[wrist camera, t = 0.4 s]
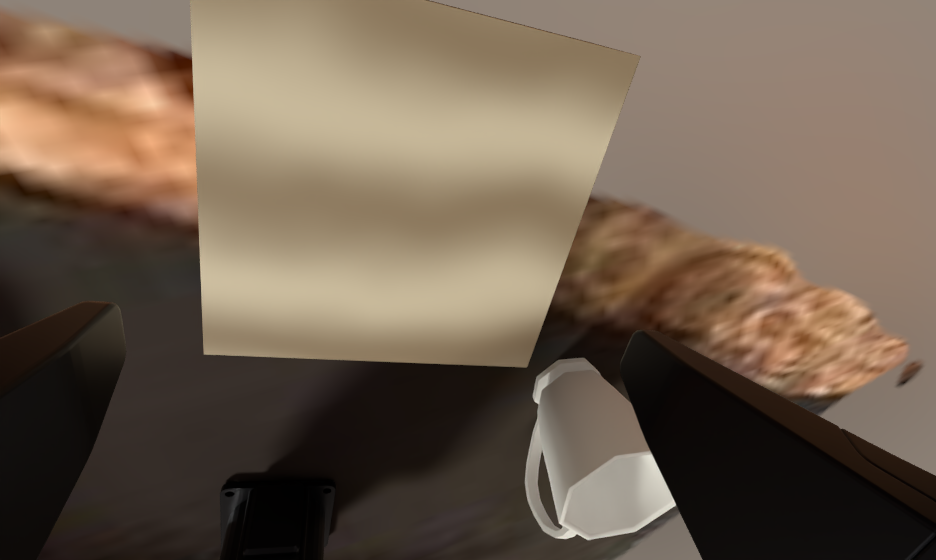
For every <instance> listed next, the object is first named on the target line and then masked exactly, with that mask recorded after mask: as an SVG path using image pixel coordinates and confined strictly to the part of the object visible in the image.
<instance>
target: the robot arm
mask: <svg viewBox="0 0 936 560" xmlns="http://www.w3.org/2000/svg"><path fill="white" fill-rule="evenodd" d="M125 356H126V344H125V337H124V331H123V324H122V317H121V312H120V309H119V307H118V305H116V304H115V303H112V302H96V301H84V302H81V303H78V304H76V305H74V306H72V307H69V308H67V309H65V310H63V311H60V312H58V313H56V314H53V315H51V316H49V317H47V318H44V319H42V320H40V321H38V322H35V323H33V324H31V325H28V326H26V327H24V328H22V329H19V330H17V331H15V332H12V333H10V334H8V335H6V336H3V337H1V338H0V560H37V558H38V556H39V554H40V552H41V550H42V548H43V546H44V545H45V543H46V541H47V539H48V537H49V535H50V533H51V531H52V529H53V527H54V525H55V523H56V521H57V519H58V517H59V515H60V513H61V511H62V509H63V507H64V505H65V503H66V501H67V500H68V498H69V496H70V494H71V492H72V490H73V488H74V486H75V484H76V482H77V480H78V478H79V476H80V474H81V472H82V470H83V468H84V466H85V464H86V462H87V460H88V458H89V456H90V454H91V451H92V449H93V446H94V444H95V441H96V439H97V436H98V433H99V431H100V428H101V425H102V422H103V420H104V417H105V414H106V411H107V408H108V406H109V403H110V400H111V397H112V395H113V392H114V389H115V386H116V384H117V381H118V378H119V375H120V372H121V370H122V367H123V364H124V361H125ZM620 373H621V376H622V379H623V382H624V385H625V387H626V390H627V393H628V395H629V398H630V401H631V404H632V406H633V409H634V412H635V415H636V417H637V420H638V423H639V425H640V428H641V431H642V433H643V436H644V438H645V441H646V443H647V445H648V447H649V449H650V452H651V454H652V456H653V458H654V460H655V462H656V464H657V466H658V468H659V470H660V472H661V474H662V477H663V479H664V481H665V483H666V485H667V487H668V489H669V491H670V493H671V495H672V497H673V499H674V501H675V503H676V506H677V508H678V510H679V512H680V514H681V516H682V518H683V520H684V522H685V524H686V526H687V528H688V530H689V532H690V534H691V536H692V538H693V541H694V543H695V545H696V547H697V549H698V551H699V553H700V555H701V557H702V559H703V560H936V476H935V475H933V474H931V473H929V472H927V471H925V470H922V469H921V468H919V467H917V466H915V465H913V464H911V463H909V462H907V461H905V460H902V459H901V458H899V457H897V456H895V455H893V454H891V453H889V452H887V451H885V450H883V449H881V448H879V447H877V446H875V445H873V444H871V443H869V442H867V441H866V440H864V439H862V438H860V437H858V436H856V435H854V434H852V433H850V432H848V431H846V430H845V429H840V428H839V427H838V426H837V425H835V424H833V423H831V422H829V421H827V420H825V419H823V418H821V417H820V416H818V415H816V414H814V413H812V412H810V411H808V410H806V409H804V408H803V407H801V406H799V405H797V404H795V403H793V402H791V401H789V400H787V399H785V398H783V397H782V396H780V395H778V394H776V393H774V392H772V391H770V390H768V389H766V388H764V387H763V386H761V385H759V384H757V383H755V382H753V381H751V380H749V379H747V378H745V377H744V376H742V375H740V374H738V373H736V372H734V371H732V370H730V369H728V368H726V367H724V366H723V365H721V364H719V363H717V362H715V361H713V360H711V359H709V358H707V357H705V356H704V355H702V354H700V353H698V352H696V351H694V350H692V349H690V348H688V347H686V346H685V345H683V344H681V343H679V342H677V341H675V340H673V339H671V338H669V337H667V336H665V335H664V334H662V333H660V332H658V331H654V330H638V331H636V332H635V333H634V334H633V335H632V337H631V339H630V341H629V344H628V346H627V348H626V350H625V353H624V355H623V357H622V359H621V362H620ZM335 489H336V485H335V482H334V481H331V480H313V481H278V482H242V483H227V484H225V485H223V486H222V489H221V493H220V511H221V551H222V552H221V556H220V560H323V554H324V547H326V546H327V544H328V538H329V531H330V524H331V517H332V511H333V504H334V497H335Z"/></svg>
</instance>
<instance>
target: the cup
mask: <svg viewBox="0 0 936 560" xmlns="http://www.w3.org/2000/svg"><path fill="white" fill-rule="evenodd" d="M533 399H534V401H535V402H536V403H538V404H539V406H538V411H537V412H538V418H537V421H536V424H535V427H534V430H533V434H532V438H531V443H530V448H529V453H528V458H527V463H526V474H525V487H526V493H527V500H528V503H529V505H530V508H531V510H532V512H533V515H534V517H535V518H536V520H537V522H538V523H539V525H540V526H541V528H542V530H543V531H544V532H546V533H547V534H549V535H551V536H553V537H554V538H562V539H567V538H571V537H574V536H575V535H576V534H578V535H580V536H582V537H583V538H585V539H587V540H591V539H596V538H602V537H608V536H614V535H620V534H626V533H631V532H636V531H637V530H639V529H640V528H642V527H643V526H645V525H646V524H648V523H649V522H651V521H652V520H654V519H655V518H657V517H659V516H660V515H662V514H663V513H665V512H666V511H668V510H669V509H671V508H672V507H674V506H675V505H676V503H675V501H674V499H673V497H672V495H671V493H670V491H669V489H668V487H667V485H666V483H665V481H664V479H663V477H662V474H661V472H660V470H659V468H658V466H657V464H656V462H655V460H654V458H653V456H652V454H651V452H650V449H649V447H648V445H647V443H646V441H645V438H644V436H643V433H642V431H641V428H640V425H639V423H638V420H637V417H636V415H635V412H634V409H633V406H632V404H631V403H630V402H629V401H628V400H627V399H626V398H625V397H624V396H622V395H621V394H620V393H619V392H618V391H617V390H616V389H615V388H614V387H613V386H612V385H611V384H609V383H608V382H607V381H606V380H605V379H604V378H602V377H601V376H600V373H599V371H598V370H597V369H596V368H595V367H594V366H593V365H591V364H590V363H589V362H588V361H587V360H586V359H585V358H573V359H562V360H557V361H556V362H555V363H553V364H552V365H551V366H550V367H548V368H547V369H546V370H544V371H543V372H542V373H540V374H539V375H538V376H537V377H536V382H535V387H534V393H533ZM542 450H543V454H544V458H545V463H546V467H547V471H548V475H549V480H550V484H551V489H552V494H553V499H554V503H555V507H556V512H557V516H558V520H559V524H561V525H563V527H562V529H559V528H557V527H555V526H554V524H553V523H552V521H551V520H550V518H549V517H548V515H547V513H546V511H545V509H544V507H543V505H542V503H541V501H540V496H539V490H538V484H537V482H538V471H539V463H540V457H541V452H542Z"/></svg>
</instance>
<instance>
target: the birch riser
mask: <svg viewBox="0 0 936 560" xmlns="http://www.w3.org/2000/svg"><path fill="white" fill-rule="evenodd" d="M190 11H191V37H192V63H193V89H194V114H195V140H196V166H197V192H198V217H199V243H200V269H201V295H202V320H203V346H204V354H209V355H233V356H258V357H282V358H307V359H331V360H356V361H380V362H405V363H429V364H454V365H478V366H503V367H527V366H528V363H529V361H530V358H531V355H532V352H533V350H534V347H535V344H536V342H537V339H538V336H539V333H540V331H541V328H542V325H543V322H544V320H545V317H546V314H547V311H548V309H549V306H550V303H551V300H552V298H553V295H554V292H555V290H556V287H557V284H558V281H559V279H560V276H561V273H562V270H563V268H564V265H565V262H566V259H567V257H568V254H569V251H570V248H571V246H572V243H573V240H574V237H575V235H576V232H577V229H578V227H579V224H580V221H581V218H582V216H583V213H584V210H585V207H586V205H587V202H588V199H589V196H590V194H591V191H592V188H593V185H594V183H595V180H596V177H597V175H598V172H599V169H600V166H601V163H602V161H603V158H604V155H605V153H606V150H607V147H608V144H609V142H610V139H611V136H612V133H613V131H614V128H615V125H616V122H617V120H618V117H619V114H620V112H621V109H622V106H623V103H624V100H625V98H626V95H627V92H628V90H629V87H630V84H631V81H632V79H633V76H634V73H635V70H636V68H637V65H638V62H639V59H640V56H637V55H634V54H630V53H626V52H623V51H619V50H615V49H612V48H608V47H605V46H601V45H597V44H594V43H590V42H586V41H582V40H578V39H574V38H571V37H567V36H563V35H559V34H555V33H552V32H548V31H544V30H540V29H536V28H532V27H529V26H525V25H521V24H517V23H513V22H509V21H505V20H502V19H498V18H493V17H490V16H486V15H483V14H479V13H475V12H471V11H467V10H463V9H460V8H456V7H452V6H448V5H444V4H440V3H437V2H433V1H429V0H190Z"/></svg>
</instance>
